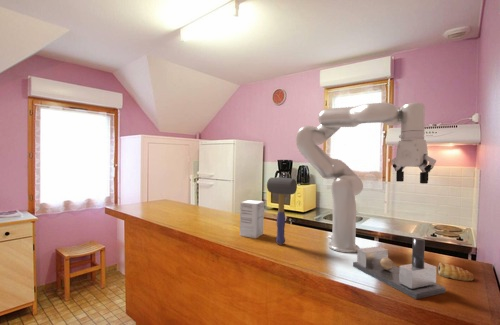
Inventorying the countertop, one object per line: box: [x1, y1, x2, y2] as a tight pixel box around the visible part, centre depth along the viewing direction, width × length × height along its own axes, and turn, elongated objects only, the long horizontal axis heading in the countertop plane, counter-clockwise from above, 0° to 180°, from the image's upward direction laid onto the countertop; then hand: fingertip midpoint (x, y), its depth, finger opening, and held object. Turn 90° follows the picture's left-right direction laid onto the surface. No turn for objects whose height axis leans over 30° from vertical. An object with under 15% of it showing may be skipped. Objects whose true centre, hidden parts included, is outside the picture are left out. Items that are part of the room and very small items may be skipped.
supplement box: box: [239, 199, 265, 239], centre depth 134 cm, size 10×9×17 cm
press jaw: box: [399, 237, 437, 289], centre depth 78 cm, size 4×10×13 cm, turn 111°
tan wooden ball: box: [380, 257, 395, 270], centre depth 89 cm, size 4×4×4 cm
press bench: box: [352, 246, 447, 300], centre depth 86 cm, size 24×12×6 cm, turn 21°
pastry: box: [437, 262, 474, 282], centre depth 88 cm, size 9×7×4 cm
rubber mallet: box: [266, 176, 298, 246], centre depth 119 cm, size 12×8×30 cm, turn 56°
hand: (411, 182), depth 99 cm, fingers open, 9 cm apart
